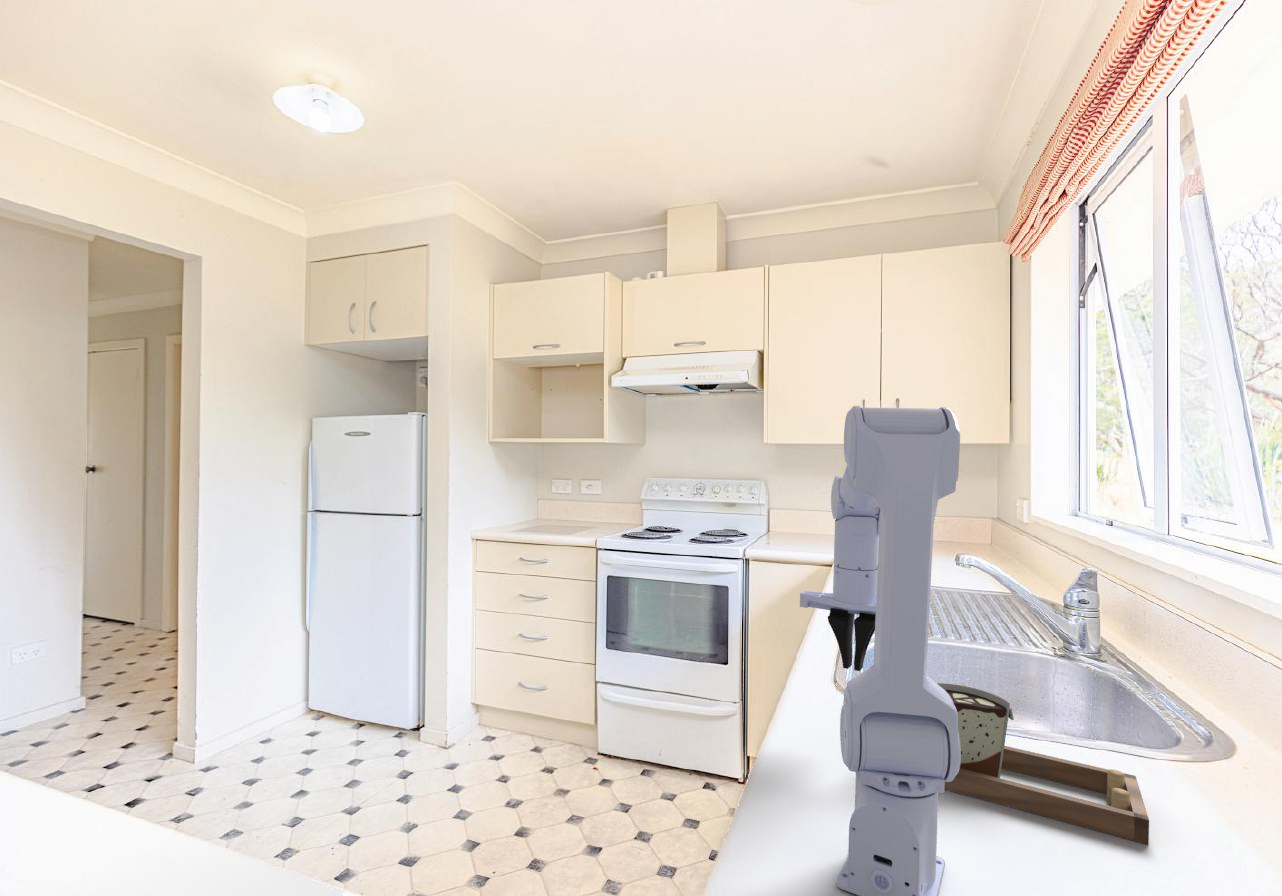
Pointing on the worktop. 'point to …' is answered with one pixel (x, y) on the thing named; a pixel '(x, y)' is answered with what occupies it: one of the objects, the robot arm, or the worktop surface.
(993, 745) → the food container
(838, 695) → the worktop surface
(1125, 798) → the rail frame
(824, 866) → the worktop surface
